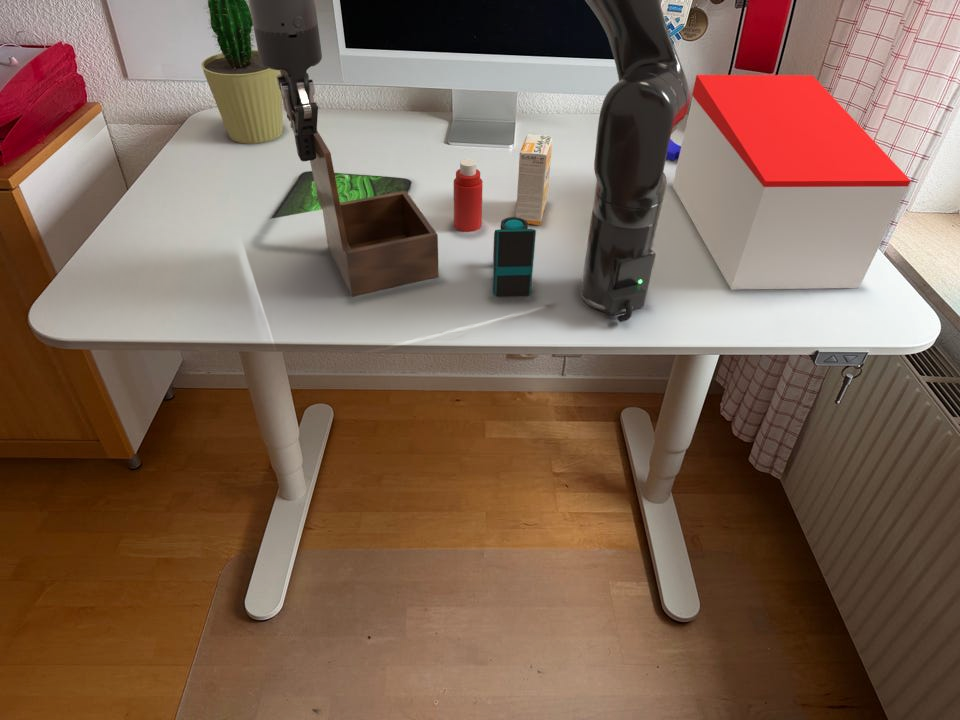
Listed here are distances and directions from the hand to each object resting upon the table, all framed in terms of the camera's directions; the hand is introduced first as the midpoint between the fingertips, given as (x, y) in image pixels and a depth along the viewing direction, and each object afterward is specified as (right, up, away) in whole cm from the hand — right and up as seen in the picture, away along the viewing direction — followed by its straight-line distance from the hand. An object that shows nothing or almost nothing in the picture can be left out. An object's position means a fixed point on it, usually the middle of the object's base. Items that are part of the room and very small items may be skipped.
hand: (307, 158), depth 91 cm
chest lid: (+2, -2, +3) cm, 4 cm away
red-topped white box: (+72, -5, +27) cm, 77 cm away
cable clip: (+65, +15, +49) cm, 82 cm away
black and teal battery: (+28, -15, +14) cm, 35 cm away
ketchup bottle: (+21, -5, +25) cm, 33 cm away
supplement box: (+33, -1, +30) cm, 44 cm away
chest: (+8, -12, +16) cm, 22 cm away
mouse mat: (-2, -1, +29) cm, 29 cm away
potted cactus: (-25, +22, +54) cm, 63 cm away
